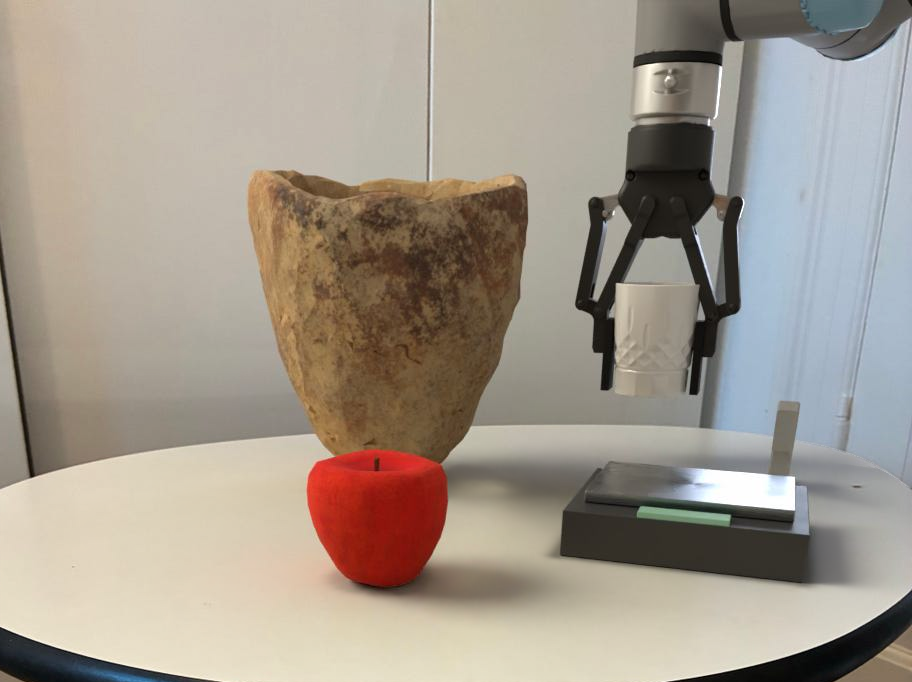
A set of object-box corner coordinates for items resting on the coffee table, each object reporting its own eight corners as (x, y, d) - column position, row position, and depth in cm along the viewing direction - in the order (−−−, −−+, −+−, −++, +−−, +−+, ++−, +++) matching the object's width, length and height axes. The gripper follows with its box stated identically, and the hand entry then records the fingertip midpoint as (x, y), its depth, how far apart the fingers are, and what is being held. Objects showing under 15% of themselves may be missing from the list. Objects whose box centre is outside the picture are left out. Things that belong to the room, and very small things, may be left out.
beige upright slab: (767, 479, 93) (780, 390, 90) (787, 481, 93) (801, 391, 90) (764, 497, 87) (778, 402, 84) (785, 499, 86) (800, 404, 83)
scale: (801, 527, 79) (808, 481, 77) (802, 582, 66) (811, 529, 65) (594, 506, 83) (597, 462, 82) (559, 555, 71) (562, 504, 69)
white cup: (591, 392, 98) (597, 282, 94) (641, 385, 103) (650, 280, 99) (658, 402, 93) (668, 286, 89) (708, 394, 98) (720, 283, 94)
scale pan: (793, 487, 77) (795, 476, 77) (793, 522, 68) (795, 510, 67) (608, 470, 81) (608, 460, 80) (584, 501, 72) (584, 490, 71)
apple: (310, 556, 69) (306, 441, 66) (438, 555, 70) (441, 441, 67) (307, 602, 61) (304, 473, 58) (453, 600, 62) (457, 472, 59)
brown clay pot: (244, 509, 80) (225, 158, 71) (275, 450, 101) (263, 172, 92) (528, 511, 81) (548, 165, 72) (501, 452, 102) (513, 177, 92)
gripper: (547, 123, 89) (536, 390, 97) (795, 117, 83) (760, 402, 92) (565, 130, 96) (552, 380, 104) (795, 125, 90) (762, 391, 98)
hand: (649, 390), depth 98 cm, fingers closed on white cup, 8 cm apart
